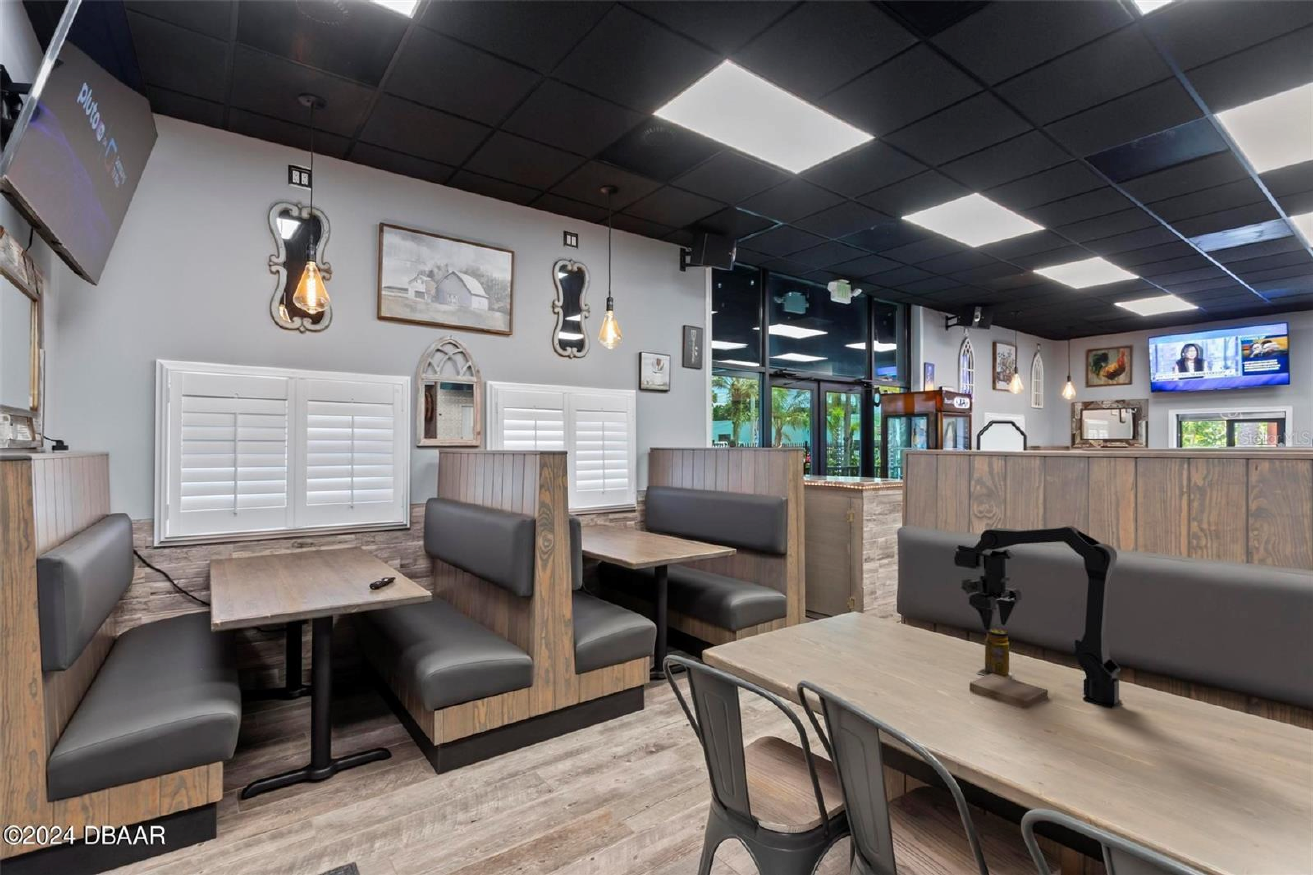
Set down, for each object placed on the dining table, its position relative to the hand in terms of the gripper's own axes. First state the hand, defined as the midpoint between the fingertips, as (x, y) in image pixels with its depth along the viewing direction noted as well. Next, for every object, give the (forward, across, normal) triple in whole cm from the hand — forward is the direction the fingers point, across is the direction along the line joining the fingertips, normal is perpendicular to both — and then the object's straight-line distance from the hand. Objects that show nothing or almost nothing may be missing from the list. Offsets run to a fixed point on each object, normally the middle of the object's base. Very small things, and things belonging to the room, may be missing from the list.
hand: (995, 627), depth 176 cm
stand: (+13, +12, +9) cm, 20 cm away
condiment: (+13, +1, 0) cm, 13 cm away
